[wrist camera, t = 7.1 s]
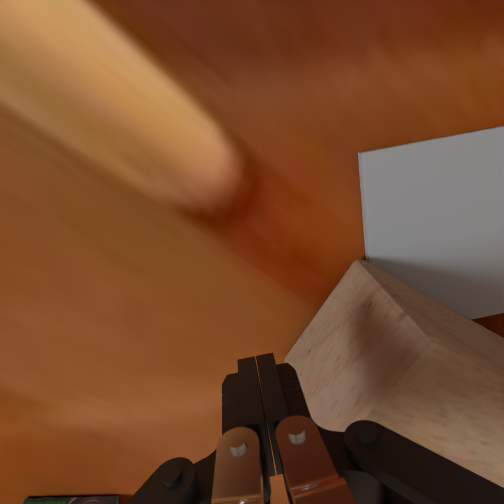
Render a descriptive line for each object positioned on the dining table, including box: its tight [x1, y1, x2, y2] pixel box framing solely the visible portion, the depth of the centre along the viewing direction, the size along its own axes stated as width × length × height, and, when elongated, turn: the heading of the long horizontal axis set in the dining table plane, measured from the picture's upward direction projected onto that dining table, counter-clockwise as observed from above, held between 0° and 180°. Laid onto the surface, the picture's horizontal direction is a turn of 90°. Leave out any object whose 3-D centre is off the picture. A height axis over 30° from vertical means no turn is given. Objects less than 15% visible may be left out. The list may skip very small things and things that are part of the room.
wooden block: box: [284, 259, 504, 488], centre depth 23 cm, size 10×10×20 cm
